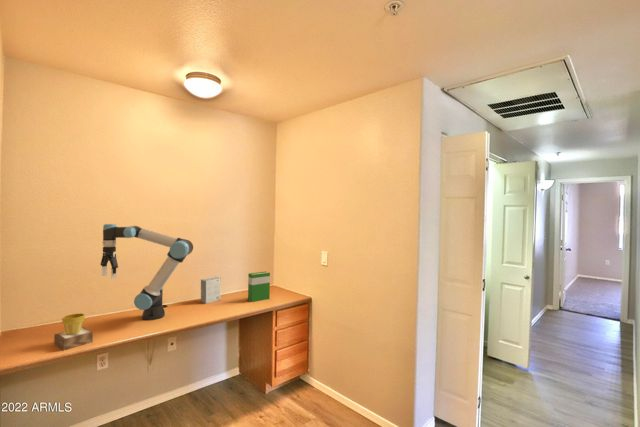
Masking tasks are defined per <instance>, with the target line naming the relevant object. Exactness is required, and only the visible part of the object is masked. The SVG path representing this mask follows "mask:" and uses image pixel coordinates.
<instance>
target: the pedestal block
mask: <svg viewBox="0 0 640 427" xmlns="http://www.w3.org/2000/svg"><path fill="white" fill-rule="evenodd" d="M93 336H94V335H93V331H92V330H90V329H87V328H85V327H83V326H82V327H81V331H80V332H79V333H76V334H66V331H61V332H59V333H58V332H57V333H54V337H53V338H54V339H53V341H54V342H53V344H55V345H54V346H56V347H58V348H59V349H61V350H62V351H66V350H70V349H74V348H77V347H80V346H84V345H87V343H88V344H90V343H91V344H92V343H93V340H94V338H93Z"/></svg>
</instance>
